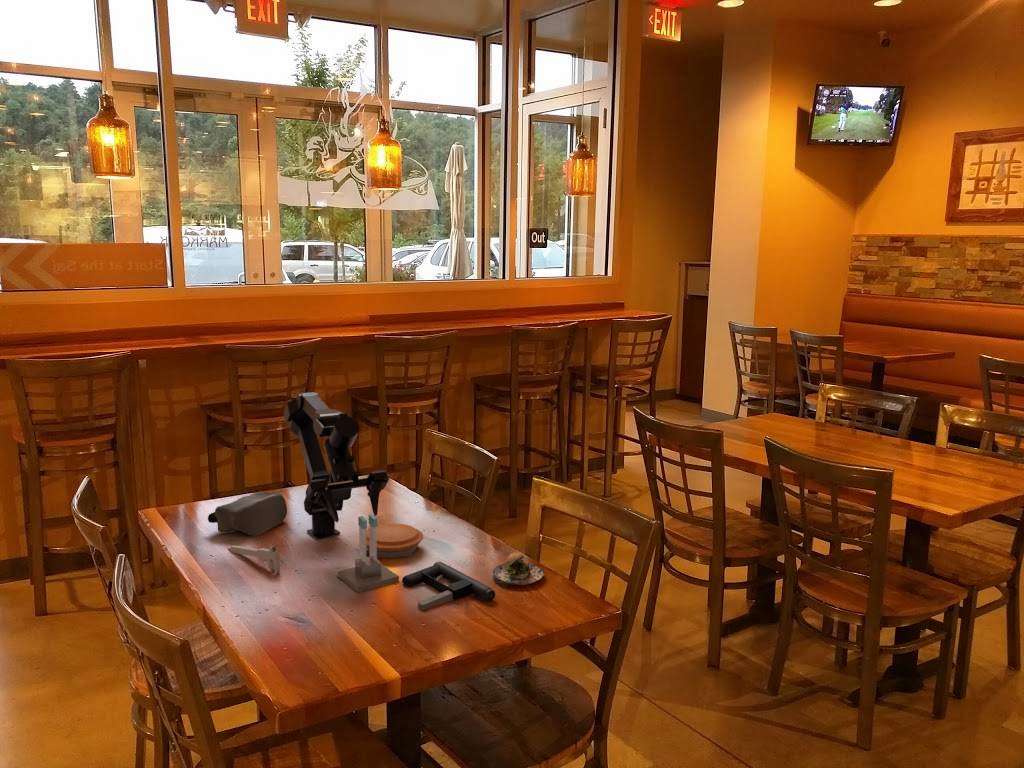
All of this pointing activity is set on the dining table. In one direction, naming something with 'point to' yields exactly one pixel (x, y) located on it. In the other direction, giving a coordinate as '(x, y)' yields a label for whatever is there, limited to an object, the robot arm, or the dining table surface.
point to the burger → (517, 571)
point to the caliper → (261, 555)
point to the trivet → (367, 579)
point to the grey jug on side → (251, 513)
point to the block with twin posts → (365, 565)
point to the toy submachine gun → (455, 591)
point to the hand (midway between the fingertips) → (357, 518)
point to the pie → (395, 540)
